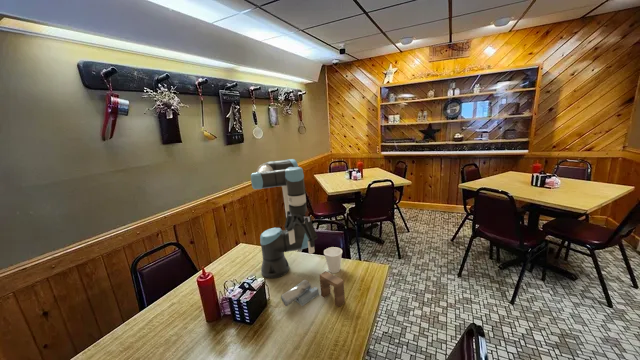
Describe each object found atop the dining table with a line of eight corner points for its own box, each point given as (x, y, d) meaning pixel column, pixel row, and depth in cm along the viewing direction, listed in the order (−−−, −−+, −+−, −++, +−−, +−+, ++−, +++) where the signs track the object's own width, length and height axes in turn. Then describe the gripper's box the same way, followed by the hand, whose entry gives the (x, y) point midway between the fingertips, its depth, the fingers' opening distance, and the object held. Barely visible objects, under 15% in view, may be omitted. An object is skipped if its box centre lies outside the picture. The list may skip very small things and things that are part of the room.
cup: (343, 264, 140) (342, 246, 138) (343, 275, 131) (342, 256, 128) (325, 265, 141) (324, 247, 139) (324, 275, 132) (322, 256, 129)
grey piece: (288, 308, 108) (286, 298, 107) (281, 302, 111) (280, 293, 110) (311, 291, 116) (310, 282, 115) (304, 287, 120) (303, 278, 118)
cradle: (291, 297, 117) (290, 292, 116) (307, 287, 123) (307, 281, 123) (302, 306, 111) (301, 300, 110) (318, 294, 118) (318, 288, 117)
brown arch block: (321, 295, 117) (319, 274, 114) (327, 291, 119) (325, 270, 117) (338, 307, 109) (337, 284, 106) (344, 302, 111) (343, 280, 109)
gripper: (273, 200, 115) (279, 242, 120) (309, 212, 97) (314, 261, 103) (287, 196, 120) (291, 236, 125) (323, 206, 102) (327, 253, 107)
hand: (301, 248), depth 114 cm, fingers open, 13 cm apart
